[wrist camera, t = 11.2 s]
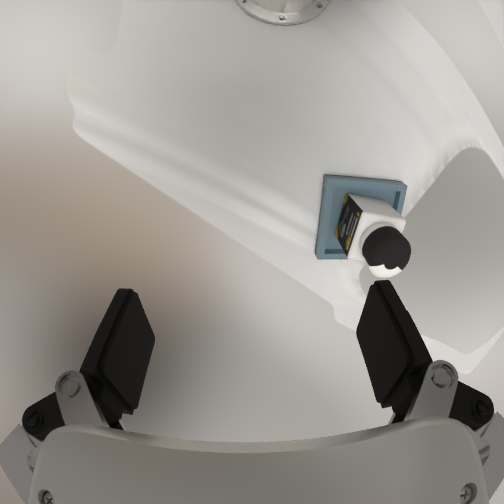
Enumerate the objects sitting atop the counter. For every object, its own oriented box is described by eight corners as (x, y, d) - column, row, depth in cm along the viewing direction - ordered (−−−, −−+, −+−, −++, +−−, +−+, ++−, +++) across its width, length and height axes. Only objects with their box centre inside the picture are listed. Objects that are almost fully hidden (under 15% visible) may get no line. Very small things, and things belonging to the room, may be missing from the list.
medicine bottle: (345, 192, 38) (378, 230, 27) (386, 200, 38) (425, 239, 28) (333, 234, 41) (358, 282, 31) (372, 240, 42) (403, 286, 32)
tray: (324, 174, 37) (327, 178, 35) (401, 181, 37) (407, 185, 35) (314, 252, 44) (317, 259, 42) (384, 252, 44) (389, 258, 42)
